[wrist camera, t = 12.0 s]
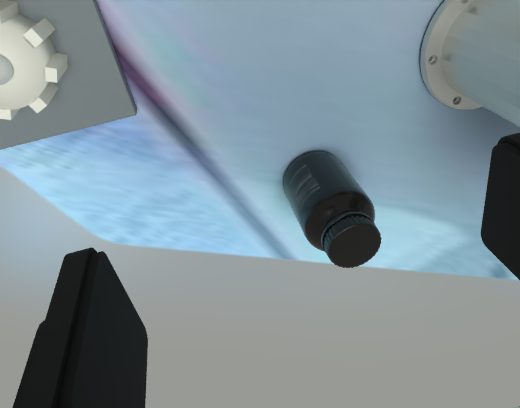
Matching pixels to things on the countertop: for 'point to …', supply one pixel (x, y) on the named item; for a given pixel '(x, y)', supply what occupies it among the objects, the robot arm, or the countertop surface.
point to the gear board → (57, 70)
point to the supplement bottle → (332, 209)
